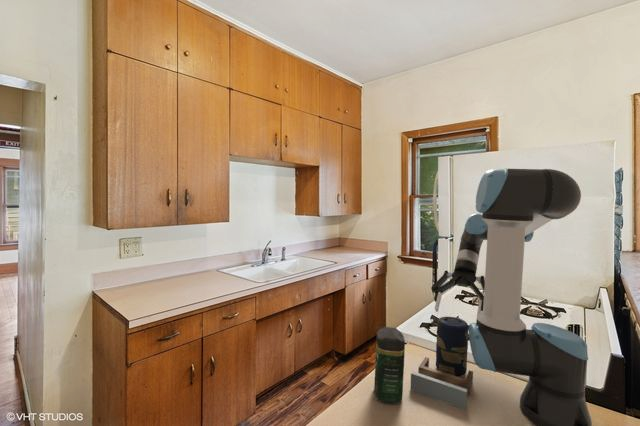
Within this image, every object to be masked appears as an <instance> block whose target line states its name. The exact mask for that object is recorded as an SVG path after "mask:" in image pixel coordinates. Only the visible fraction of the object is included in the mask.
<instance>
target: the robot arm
mask: <svg viewBox="0 0 640 426" xmlns="http://www.w3.org/2000/svg"><path fill="white" fill-rule="evenodd" d="M581 200H582V193H581V188H580V186H579V183H577V181H576V180H575V179H574V178H573V177H572V176H570V175H569V174H568V173H565V172H563V171H560V170H556V169H551V168H544V169H543V168H542V169H540V168H538V169H537V168H536V169H535V168H506V167H505V168H497V169H495V168H494V169H489V170H487V171H486V172H484V173H483V175H482V177H481V178H480V181H479V183H478V187H477V192H476V196H475V211H476V212H478V213H474V214H471V215H469V216H468V218H467V219H466V222H465V224H464V229H463V232H462V234H461V237H460V241H459V248H458V253H457V255H456V260H455V266H454V269H453V272H449V271H448V270H444V272H443V273H442V274H443V275H442V276H440V278H439V279H438V280H437V281H436V282H435V283H434V284H433V285H432V286H431V292H432V293H433V294H434V297H433V300H434V303H435V305H434V310H435V312H437V313H438V312H439V309H440V305H441V300H442V297H443V295H442V294H443V293H445V292H446V291H448V290H450V289H451V288H453V287H455V286H458V287H465V288H468V287H469V288H470V289H471V290H472V292H474V294H475V295H476V296H477V298H478V299H479V300H478V306H477V313H476V322H471V323H469V324H468V340H469V345H470V350H471V355H472V358H473V360H474V363H475V365H476V366H477V367H478V368H479V369H481V370H484V371H485V370H486V371H490V372H494V373H503V374H510V375H515V376H516V375H519V376H524V377H525V376H526V377H528V381H527V383H526V384H525V387H524V388H523V390H522V392H521V394H520V397H519V409H520V411H521V412H522V414H523V416H525V418H526V419H528V420H529V421H531V422H532V423H533V424H535V425H536V426H593V424H592V423H593V422H592V418H591V415H590V411H589V408H588V405H587V402H586V398H585V393H586V391H585V390H586V380H587V379H586V378H587V368H588V367H587V366H588V360H589V357H588V356H589V355H588V344H587V342H586V341H585V340H584V339H583V338H582V337H581V336H579V335H578V334H576V333H575V332H573V331H571V330H568V329H565V328H563V327H560V326H556V325H554V324H550V323H544V322H534V323H533V324H532V325H531V327H530V329H529V328H528V329H527V325H526V323H525V322H524V321H523V320H522V319H521V305H522V288H523V287H522V285H523V275H524V274H523V273H524V272H523V271H524V257H525V256H524V255H525V243H530V242H531V240H532V239H533V237H534V234H535V233H534V232H535V231H536V230H538V229H540V228H541V227H543V226H545V225H546V224H547V223H549V222H551V221H552V220H560V219H563V218H565V217H568V216H569V215H570V214H572V213H573V212H574V211H575V210H576V209H577V208H578V206H579V205H580V202H581ZM484 241H486V251H485V252H486V253H485V254H486V255H485V256H486V257H485V269H484V270H485V272H484V275H480V276H476V275H477V269H478V265H479V264H478V263H479V257H480V252H481V248H482V244H483V242H484ZM448 279H450V280H449V281H447V280H448ZM475 282H478V283H479V284H480V286H481V288H482V291H483V293H482V292H481V290H480V289H479V288H478V286H477V285H476V284H475Z"/></svg>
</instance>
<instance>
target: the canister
mask: <svg viewBox="0 0 640 426" xmlns="http://www.w3.org/2000/svg"><path fill="white" fill-rule="evenodd" d="M436 324H437V325H436V344H435V346H436V347H435V357H436V358H435V368H436V370H438V371H441V372H444V373H447V374H451V375H454V376H457V377H460V378H462V377H463V376H465V375H467V374H466V373H467V371H468V370H467V369H468V367H467V365H468V349H469V348H468V347H469V324H468V323H467V322H466V321H465V320H463V319H461V318H458V317H455V316H441V317H439V318H438V320H437V322H436Z"/></svg>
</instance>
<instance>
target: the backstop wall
mask: <svg viewBox="0 0 640 426" xmlns="http://www.w3.org/2000/svg"><path fill="white" fill-rule="evenodd" d="M409 387H410V391H413V392H415V393H417V394H420V395H424V396H426V397H429V398H431V399H433V400H436V401H440V402H442V403H445V404H448V405H450V406H453V407H455V408H459V409H461V410H464V411H466V410H467V405H468V396H467V390H468V389H465V388H462V387H459V386H456V385H453V384H450V383H447V382H444V381H441V380H438V379H435V378H432V377H429V376H426V375H423V374H420V373H418V371H413V370H412V371H411V373H410V386H409Z"/></svg>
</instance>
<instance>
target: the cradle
mask: <svg viewBox="0 0 640 426" xmlns="http://www.w3.org/2000/svg"><path fill="white" fill-rule="evenodd" d="M417 373H420V374H423V375H426V376H429V377H432V378H435V379H438V380H441V381H444V382H447V383H450V384H453V385H456V386H459V387H462V388H465V389H468V390H467V398H468V397H469V396H470V393H471V390H472V388H473V383H474V382H473V381H474V371H473V370H468V372H467V374H466V377H465V378H464V377H457V376H454V375H451V374H447V373H444V372H441V371H439V370H438V369H435V368H431V367H430V358H429V357H426V356H425V357H424V358H423V360H422V361H421V363H420V364H419V365H418V371H417Z"/></svg>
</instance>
